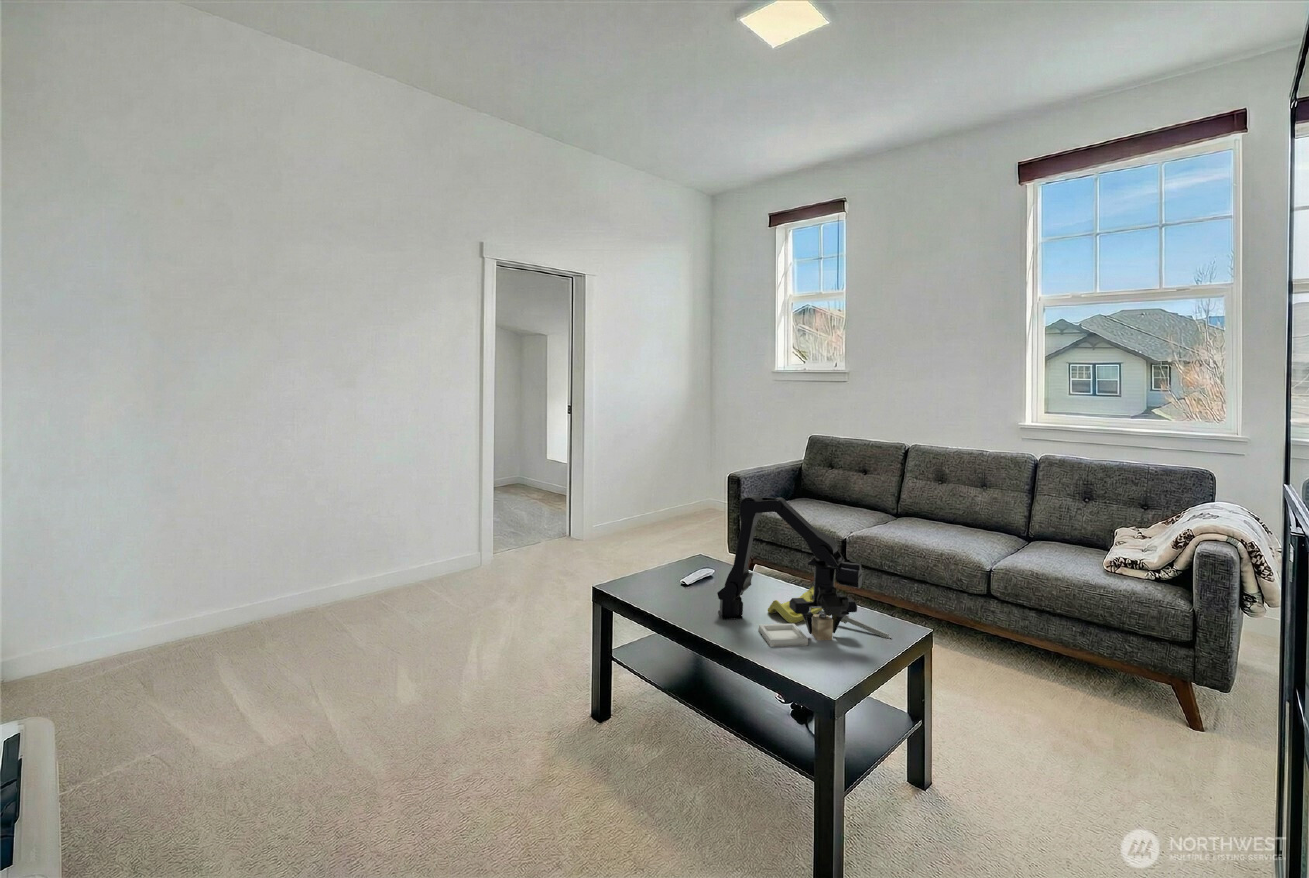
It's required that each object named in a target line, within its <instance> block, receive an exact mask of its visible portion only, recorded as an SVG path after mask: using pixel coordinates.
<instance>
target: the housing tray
mask: <svg viewBox="0 0 1309 878" xmlns="http://www.w3.org/2000/svg"><path fill="white" fill-rule="evenodd" d="M758 632H759V634H760V635H761V634H762V635H761V637H762V638H763V639H764V641H767V642H766V643H767V644H768V645H769V647H772V648H773V647H774V648H775V647H779V648H780V647H796V646H797V647H798V646H799V647H800V646H801V647H802V646H806V647H807V646H808V645H809V638H808V637H807V636H806V634H804V633H803V631H801V629H800V628H799V627H798V626H797V625H796V623H771V624H770V623H769V624H765V623H764V624H763V623H762V624H758Z"/></svg>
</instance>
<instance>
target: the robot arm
mask: <svg viewBox="0 0 1309 878" xmlns="http://www.w3.org/2000/svg"><path fill="white" fill-rule="evenodd" d="M763 513H776V514H777V515H778V516H779V517H780V518H781V519H782V520H783V521H784V522H785V523H786V524H788V525H789V526H790V527H791V528H792V530H794V532H796V533H797V534H798V535H799V536H800V537H801V539H803V540H804V541H805V543H806V545H807V546H808V549H809V550H810V552H811V553H812V554H813V557H812V558H811V559H810V560H809V561H808V562H807V565H808V566H812V567H814V578H813V581H812V582H811V583H812V587H813V586H814V595H812V599H813V602H807V601H806V600H805V599H803V598H799V597H791V599H790V600H789V601H790V603H789V607H790V608H791V609H792V610H793V611H794V612H795V613H797V614H802V615H803V617H804V620H803V621H804V623H805V626H806V628H807V632H808V633H809V635H812V617H813V614H812V613H811V608H822V609H823V610H822V611H823V613H825V614H826V615H828V616H829V617H830V616H831V618H832V619H833V634H835V633H836V632H837V630H838V627H839V625H840V623H841V619H842V618H843V617H844V616H845V615H849V616H850V613H857V612H858V603H857V602H856V601H855V600H853V599H852V598H851V597H850V596H838V593H837V588H836V587H835V581H836V583H837V584H838V585H839V586H845V587H851V588H855V589H856V588H857V589H861V587H862V583H863V576H864V574H863V570H862V564H861V563H858V562H848V561H845V558H844V557H843V555H842V554H841V552H840V550H839V549H838V543H837V541H836V540H835V539H833V538H832V537H831V536H829V535H828V534H826V533H824V532H822V531H820V530H818V529H816V528H815V527H814V526H813V525H812V524H811V523H809V521H807V519H805V518H804V517H803V515H802V514H800V513H799V512H798V511H797V510H796V509H794V507H793V506H791V504H790V503H788V502H787V500H786V499H785V498H783V497H769V496H768V497H767V496H763V497H762V496H761V495H759V494H753V495H749V496H747V497H744V498H743V499H741V501H740V502H739V519H740V530H739V534H738V541H737V545H736V550H735V555H734V561H733V565H732V568H731V569H730V571H729V573H728V575H727V577H726V580H725V583H724V587H722V588H721V589H720V590H719V591H718V592H717V597H718V600H719V610H717V612H718V614H719V617H721V619H722V620H743V614H744V602H743V601H742V597H741V596H742V595H743V594H744V592H745V591H747V590H748V588H749V587H751V586H752V578H753V576H754V573H753V572H750V571H749V562H750V559H751V552H752V549H753V548H752V546H753V543H754V541H753V540H754V536H755V533H756V527H757V523H758V522H759V520H760V518H761V516H762V515H763Z"/></svg>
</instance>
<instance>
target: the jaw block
mask: <svg viewBox="0 0 1309 878" xmlns="http://www.w3.org/2000/svg"><path fill="white" fill-rule="evenodd" d="M811 635H812V636H813V637H814V639H815V640H817V641H832V640H833V635H834V633H833V619H832V616H831V617H830V616H828V615H826V614H825V613H824V612H818V613H816V614H814V615H813V617H812V634H811Z"/></svg>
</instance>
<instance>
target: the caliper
mask: <svg viewBox="0 0 1309 878" xmlns="http://www.w3.org/2000/svg"><path fill="white" fill-rule="evenodd" d="M840 623H844V624H845V625H846V624H847V623H848V624H849V623H850V624H852V625H853V626H856V627H858V628H861V629H863V630H865V631H867V632H869V633H872V634H874V635H877V636H878V635H879V637H881V636H882V637H881V638H884V637H885V639H889V638H893V636H892V635H889V633H888V632H886V631H884V630H881V629H878V628H876V627H874V626H872V625H870V624H867V623H865V622H862V621H860V620H858V619H855V618H853V617H851V616H850V614H849V615H845V616H844V617H843V618H842V619H841V621H840Z"/></svg>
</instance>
